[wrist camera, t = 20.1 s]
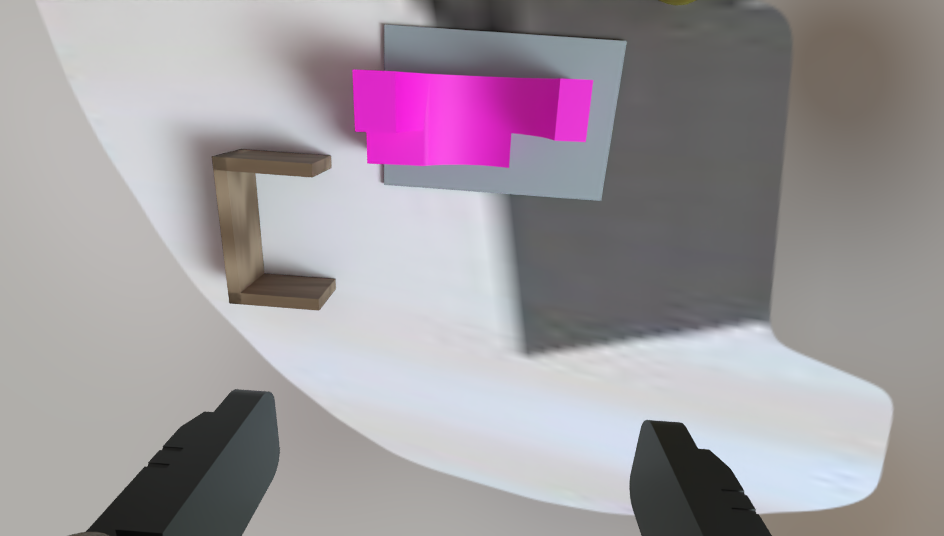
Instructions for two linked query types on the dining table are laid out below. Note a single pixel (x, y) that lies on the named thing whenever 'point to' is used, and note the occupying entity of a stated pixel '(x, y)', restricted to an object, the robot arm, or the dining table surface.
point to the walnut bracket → (245, 235)
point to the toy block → (463, 115)
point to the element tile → (677, 2)
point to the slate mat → (531, 158)
